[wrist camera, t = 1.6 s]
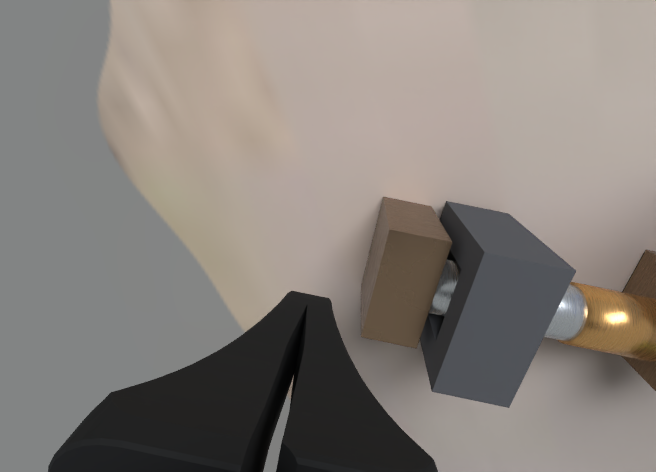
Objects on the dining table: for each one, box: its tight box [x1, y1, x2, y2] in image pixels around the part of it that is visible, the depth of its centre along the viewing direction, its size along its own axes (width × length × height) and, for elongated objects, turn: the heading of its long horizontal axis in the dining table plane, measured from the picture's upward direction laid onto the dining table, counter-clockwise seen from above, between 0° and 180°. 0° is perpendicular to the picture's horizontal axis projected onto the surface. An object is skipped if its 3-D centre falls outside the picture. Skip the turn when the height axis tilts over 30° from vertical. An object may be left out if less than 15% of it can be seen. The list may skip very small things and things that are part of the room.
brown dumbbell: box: [361, 197, 656, 391], centre depth 17 cm, size 15×5×5 cm, turn 80°
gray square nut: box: [420, 201, 576, 408], centre depth 16 cm, size 3×6×6 cm, turn 170°
